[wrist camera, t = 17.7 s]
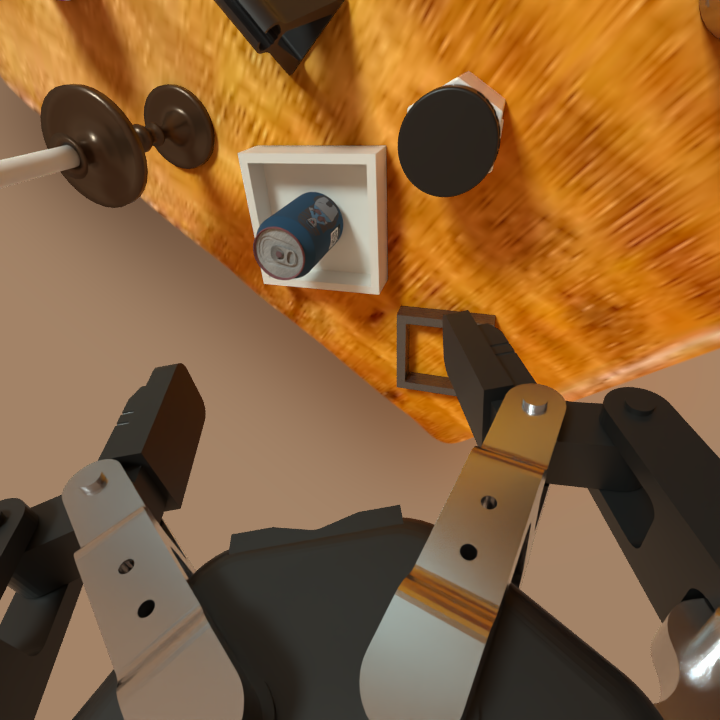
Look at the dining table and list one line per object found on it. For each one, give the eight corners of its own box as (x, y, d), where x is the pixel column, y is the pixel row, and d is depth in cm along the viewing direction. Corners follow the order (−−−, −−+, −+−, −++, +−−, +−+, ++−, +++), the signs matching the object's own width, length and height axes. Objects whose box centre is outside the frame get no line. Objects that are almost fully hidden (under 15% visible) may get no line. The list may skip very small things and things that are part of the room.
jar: (494, 173, 45) (488, 207, 36) (419, 167, 47) (394, 198, 38) (513, 71, 40) (511, 81, 30) (427, 70, 42) (400, 78, 32)
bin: (386, 145, 47) (375, 153, 43) (387, 279, 56) (379, 294, 53) (256, 145, 51) (237, 153, 47) (278, 269, 60) (263, 283, 57)
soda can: (292, 235, 55) (246, 274, 46) (297, 181, 51) (247, 212, 42) (341, 251, 54) (305, 294, 45) (351, 198, 50) (313, 233, 41)
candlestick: (189, 191, 57) (-103, 323, 30) (127, 116, 53) (-266, 191, 27) (237, 139, 51) (-74, 248, 24) (171, 51, 47) (-280, 65, 21)
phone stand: (290, 75, 45) (232, 84, 36) (249, 24, 44) (177, 20, 35) (347, -3, 40) (295, -16, 31) (302, -64, 38) (234, -97, 29)
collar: (495, 315, 54) (494, 325, 53) (483, 389, 62) (482, 400, 60) (400, 305, 58) (396, 314, 56) (400, 376, 65) (396, 387, 63)
